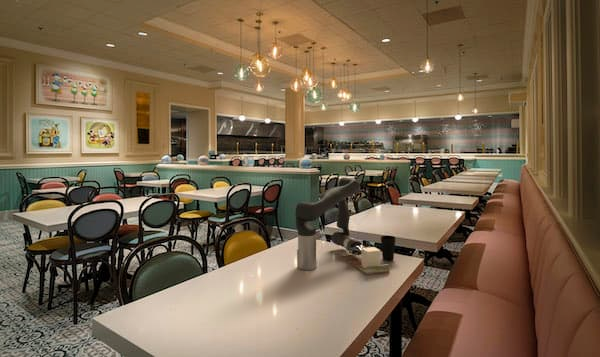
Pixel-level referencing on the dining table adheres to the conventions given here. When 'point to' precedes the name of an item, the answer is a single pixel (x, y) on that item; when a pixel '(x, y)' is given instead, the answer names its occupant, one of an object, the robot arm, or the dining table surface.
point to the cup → (388, 247)
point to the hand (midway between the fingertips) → (367, 254)
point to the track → (371, 270)
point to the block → (370, 257)
